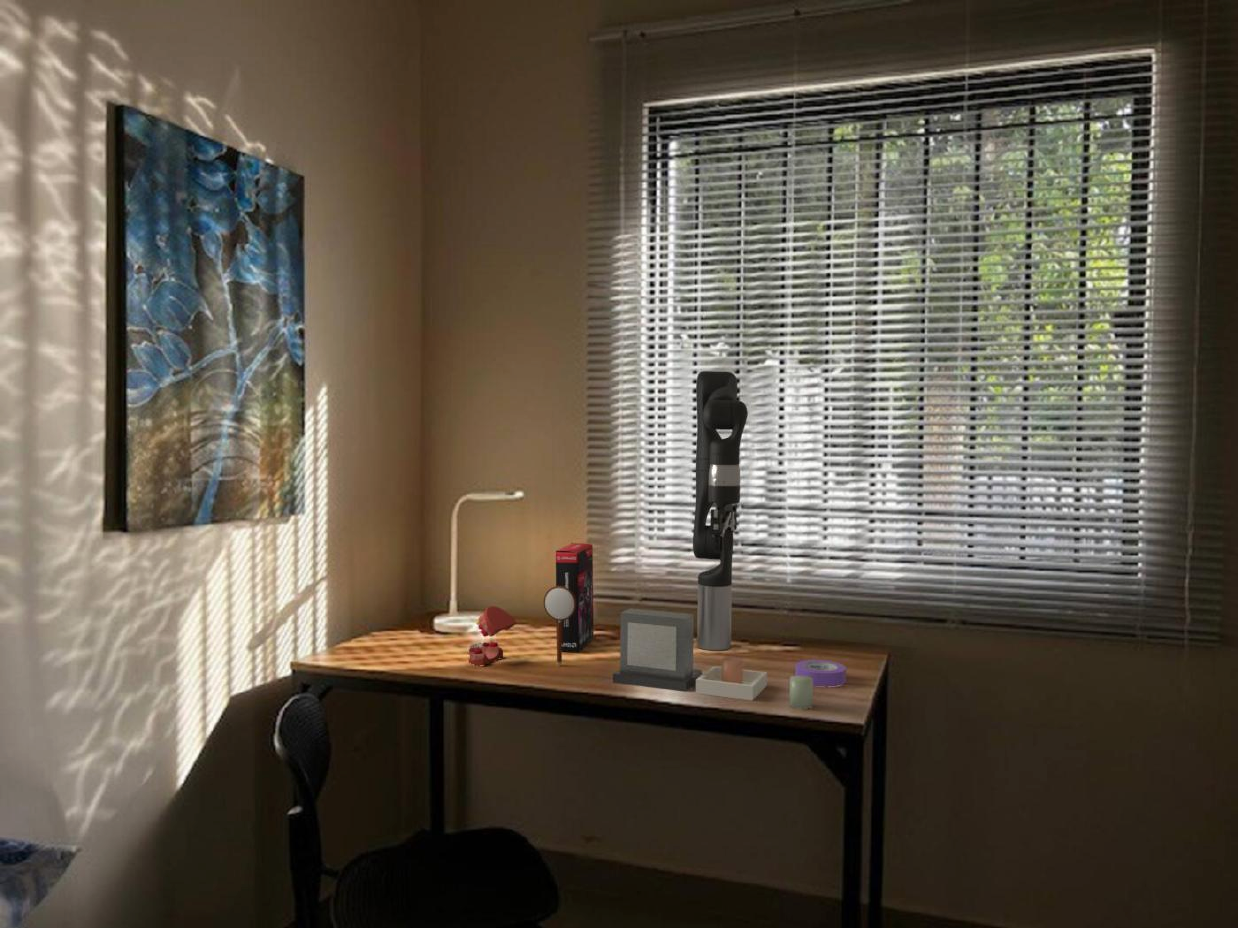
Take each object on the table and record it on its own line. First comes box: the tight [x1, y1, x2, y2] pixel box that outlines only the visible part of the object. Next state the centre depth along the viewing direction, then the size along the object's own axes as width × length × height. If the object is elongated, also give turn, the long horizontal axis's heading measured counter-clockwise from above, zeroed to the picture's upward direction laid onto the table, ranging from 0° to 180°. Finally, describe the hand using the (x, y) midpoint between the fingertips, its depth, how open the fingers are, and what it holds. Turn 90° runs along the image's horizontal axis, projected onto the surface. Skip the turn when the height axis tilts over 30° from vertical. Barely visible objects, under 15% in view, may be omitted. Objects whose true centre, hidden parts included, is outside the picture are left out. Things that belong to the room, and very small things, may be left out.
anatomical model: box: [467, 605, 517, 666], centre depth 228 cm, size 10×8×15 cm
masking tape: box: [794, 659, 847, 687], centre depth 213 cm, size 12×12×4 cm
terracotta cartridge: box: [721, 657, 744, 684], centre depth 205 cm, size 5×5×6 cm
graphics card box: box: [555, 542, 595, 653], centre depth 246 cm, size 17×7×27 cm, turn 168°
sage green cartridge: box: [789, 675, 814, 709], centre depth 193 cm, size 5×5×6 cm
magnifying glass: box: [543, 585, 576, 667], centre depth 224 cm, size 9×2×20 cm, turn 71°
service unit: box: [612, 607, 703, 692], centre depth 212 cm, size 12×18×16 cm, turn 67°
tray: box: [695, 665, 768, 701], centre depth 205 cm, size 13×13×3 cm
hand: (723, 550), depth 217 cm, fingers open, 8 cm apart
